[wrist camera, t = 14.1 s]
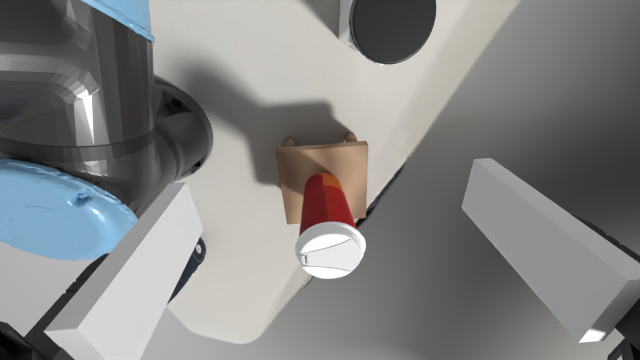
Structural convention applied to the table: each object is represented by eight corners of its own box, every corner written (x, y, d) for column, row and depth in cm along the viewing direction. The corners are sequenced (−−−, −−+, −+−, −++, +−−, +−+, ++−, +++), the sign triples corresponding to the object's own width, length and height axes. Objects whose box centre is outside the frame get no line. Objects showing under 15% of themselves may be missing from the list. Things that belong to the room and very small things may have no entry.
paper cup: (300, 210, 42) (298, 284, 30) (295, 167, 38) (291, 233, 26) (348, 206, 42) (366, 278, 30) (348, 163, 38) (369, 227, 26)
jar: (323, 30, 36) (332, 33, 25) (358, -34, 32) (384, -62, 22) (375, 67, 39) (402, 82, 28) (412, 11, 35) (458, 5, 25)
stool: (289, 200, 49) (287, 224, 43) (279, 134, 43) (275, 152, 37) (358, 194, 50) (365, 217, 44) (359, 128, 43) (368, 145, 37)
